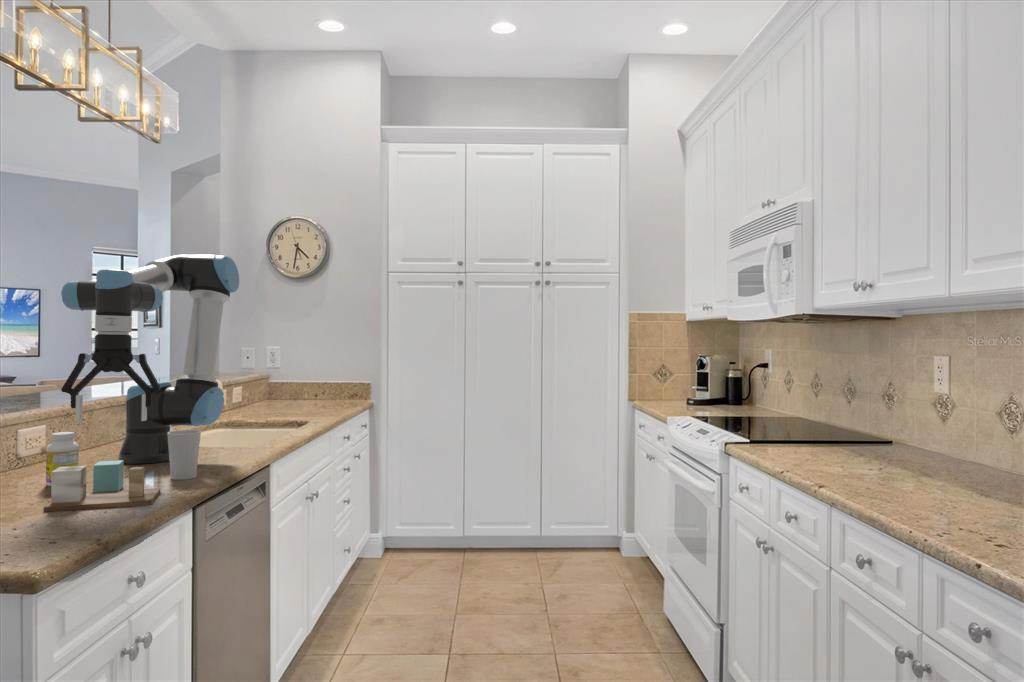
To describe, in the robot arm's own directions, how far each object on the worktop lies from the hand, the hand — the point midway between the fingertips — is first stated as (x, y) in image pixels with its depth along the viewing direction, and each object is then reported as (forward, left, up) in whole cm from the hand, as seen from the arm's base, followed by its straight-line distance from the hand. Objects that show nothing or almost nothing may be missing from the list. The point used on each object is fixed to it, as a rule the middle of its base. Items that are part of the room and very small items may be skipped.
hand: (112, 421), depth 152 cm
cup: (-11, +14, -17) cm, 25 cm away
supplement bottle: (-10, -13, -17) cm, 23 cm away
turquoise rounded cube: (0, -1, -17) cm, 17 cm away
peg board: (+12, +1, -17) cm, 20 cm away
